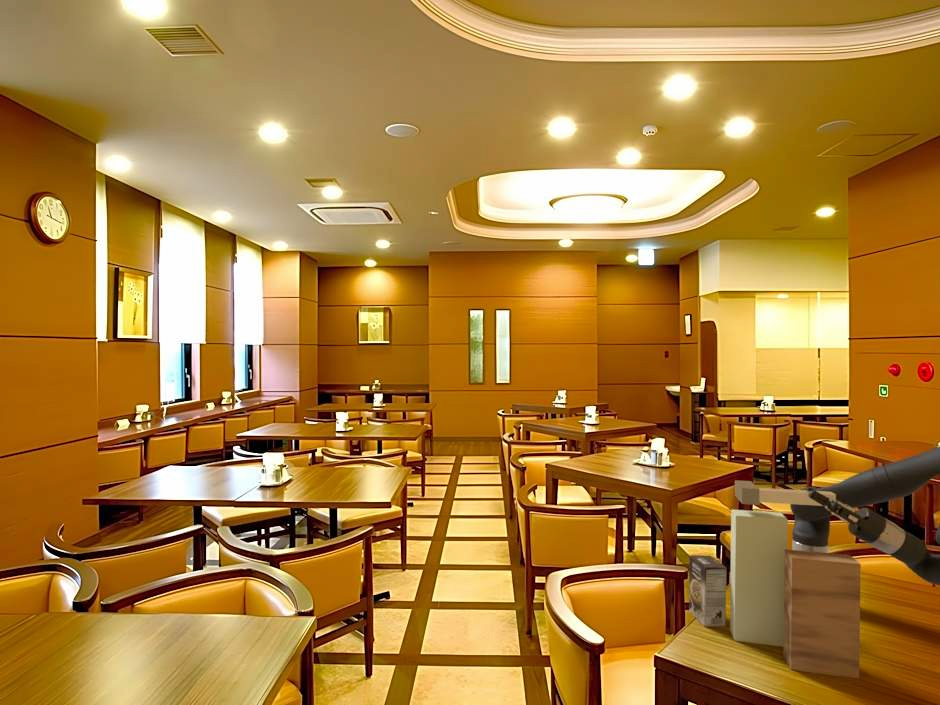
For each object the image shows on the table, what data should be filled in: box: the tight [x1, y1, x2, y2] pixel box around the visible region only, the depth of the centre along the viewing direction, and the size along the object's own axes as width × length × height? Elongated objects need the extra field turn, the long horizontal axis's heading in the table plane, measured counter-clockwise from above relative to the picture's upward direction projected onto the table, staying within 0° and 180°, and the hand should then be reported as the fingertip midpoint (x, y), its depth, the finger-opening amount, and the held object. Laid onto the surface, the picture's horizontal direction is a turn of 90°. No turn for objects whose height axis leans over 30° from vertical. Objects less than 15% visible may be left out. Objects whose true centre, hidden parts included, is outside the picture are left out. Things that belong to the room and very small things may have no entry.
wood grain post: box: [782, 549, 862, 680], centre depth 133 cm, size 6×14×26 cm, turn 76°
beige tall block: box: [729, 509, 789, 648], centre depth 147 cm, size 6×12×32 cm, turn 76°
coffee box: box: [688, 554, 728, 627], centre depth 157 cm, size 9×6×16 cm
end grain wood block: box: [734, 480, 836, 506], centre depth 145 cm, size 9×22×4 cm, turn 76°
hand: (809, 492), depth 144 cm, fingers closed on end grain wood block, 3 cm apart
